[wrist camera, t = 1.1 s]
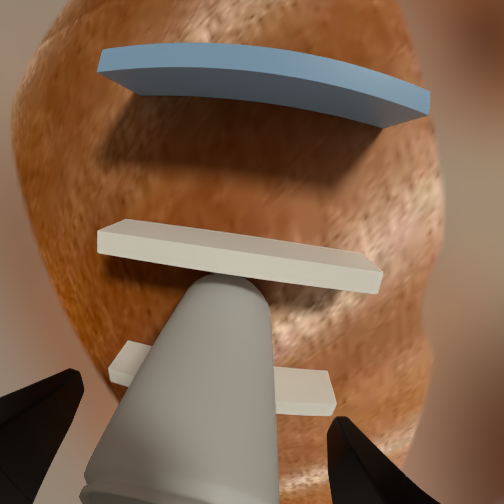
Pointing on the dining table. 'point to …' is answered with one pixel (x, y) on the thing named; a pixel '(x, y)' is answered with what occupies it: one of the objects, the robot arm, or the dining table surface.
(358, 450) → the robot arm
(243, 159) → the dining table surface
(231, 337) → the beverage can
